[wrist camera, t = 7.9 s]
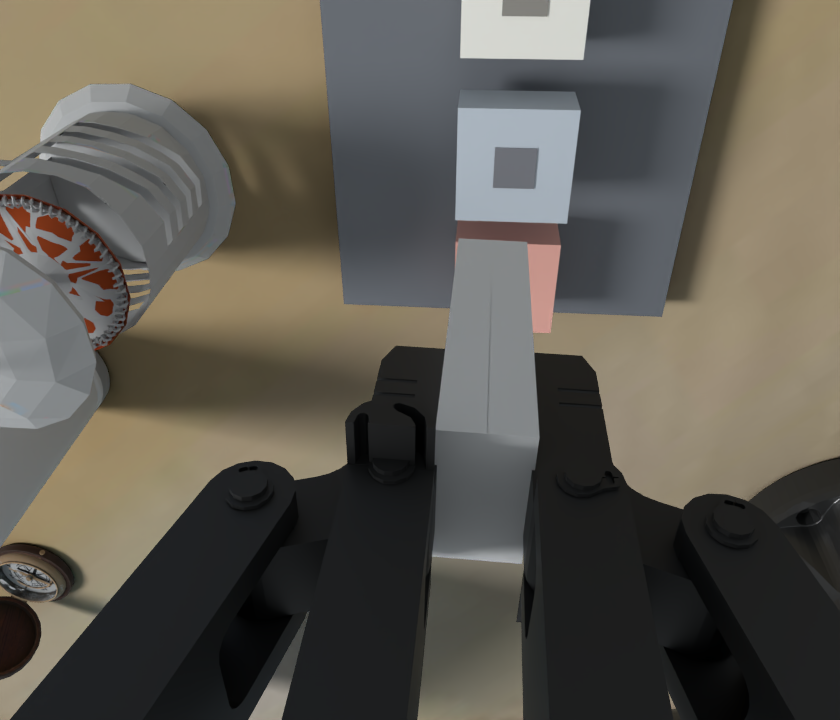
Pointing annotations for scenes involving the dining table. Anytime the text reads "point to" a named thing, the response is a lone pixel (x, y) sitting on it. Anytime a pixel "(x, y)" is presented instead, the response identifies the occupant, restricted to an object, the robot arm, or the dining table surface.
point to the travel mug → (40, 453)
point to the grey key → (515, 155)
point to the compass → (26, 581)
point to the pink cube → (540, 257)
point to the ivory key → (524, 29)
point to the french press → (97, 237)
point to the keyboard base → (448, 74)
